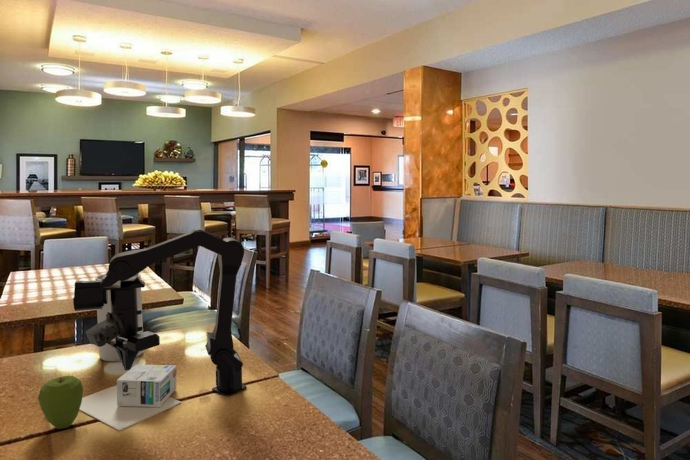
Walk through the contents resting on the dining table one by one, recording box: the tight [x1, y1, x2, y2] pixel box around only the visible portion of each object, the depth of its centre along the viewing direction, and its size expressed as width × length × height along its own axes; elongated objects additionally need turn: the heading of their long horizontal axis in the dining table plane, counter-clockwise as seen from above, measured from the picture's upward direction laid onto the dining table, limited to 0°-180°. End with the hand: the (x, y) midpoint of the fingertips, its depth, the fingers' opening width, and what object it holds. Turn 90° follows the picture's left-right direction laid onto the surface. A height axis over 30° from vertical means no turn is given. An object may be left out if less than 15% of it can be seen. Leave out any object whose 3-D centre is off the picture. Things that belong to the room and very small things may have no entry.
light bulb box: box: [116, 363, 178, 407], centre depth 120 cm, size 11×7×11 cm
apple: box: [37, 375, 84, 430], centre depth 107 cm, size 9×8×12 cm
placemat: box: [79, 384, 182, 432], centre depth 118 cm, size 22×16×1 cm
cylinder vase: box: [94, 272, 145, 363], centre depth 149 cm, size 12×12×25 cm
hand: (127, 369), depth 116 cm, fingers closed
